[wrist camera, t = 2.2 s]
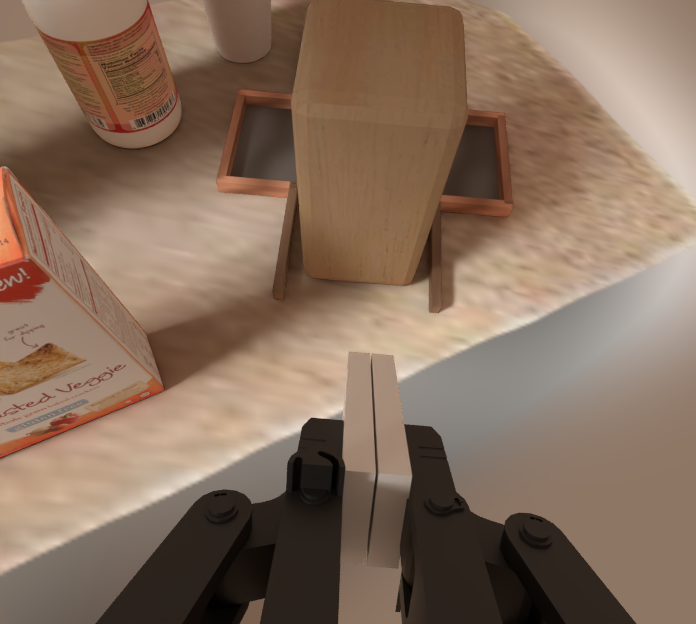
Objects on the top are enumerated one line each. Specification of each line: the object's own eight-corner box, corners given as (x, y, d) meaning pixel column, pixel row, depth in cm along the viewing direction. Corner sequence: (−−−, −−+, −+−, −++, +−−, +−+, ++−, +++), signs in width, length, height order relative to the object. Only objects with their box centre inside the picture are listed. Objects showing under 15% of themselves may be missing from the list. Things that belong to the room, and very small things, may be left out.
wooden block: (414, 202, 48) (467, 0, 30) (412, 291, 44) (473, 116, 26) (314, 193, 48) (307, -14, 30) (302, 281, 44) (287, 100, 26)
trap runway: (195, 292, 43) (186, 275, 40) (258, 24, 59) (255, -1, 56) (516, 319, 43) (529, 304, 41) (493, 45, 59) (501, 21, 57)
